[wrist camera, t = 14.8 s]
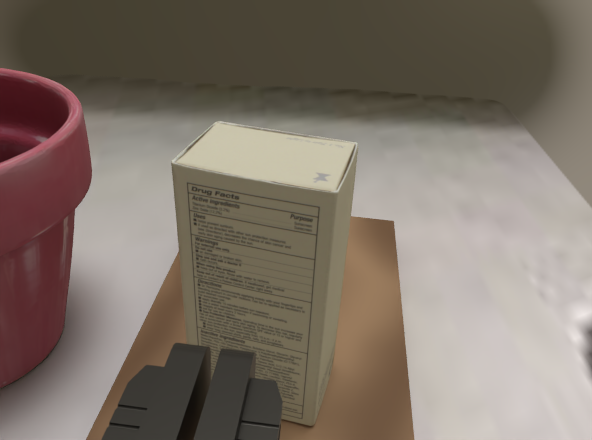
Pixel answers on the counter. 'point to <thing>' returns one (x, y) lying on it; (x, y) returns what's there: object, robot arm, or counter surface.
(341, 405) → the walnut board
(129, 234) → the counter surface
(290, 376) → the skincare box
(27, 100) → the plant pot
